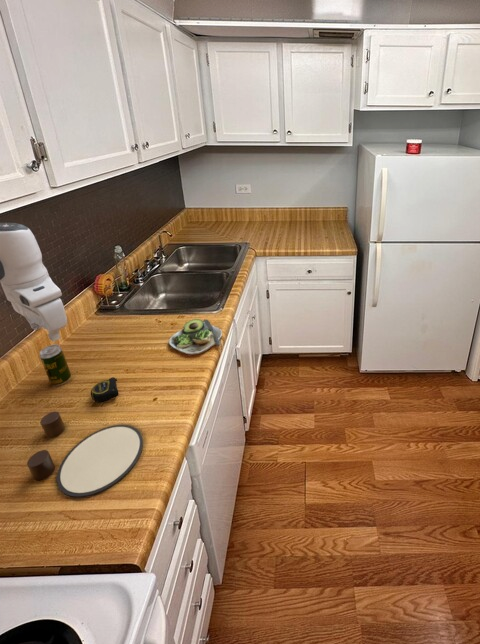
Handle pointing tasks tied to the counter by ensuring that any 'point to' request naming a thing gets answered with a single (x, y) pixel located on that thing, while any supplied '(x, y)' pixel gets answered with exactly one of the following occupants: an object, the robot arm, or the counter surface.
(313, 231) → the counter surface
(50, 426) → the eye puck
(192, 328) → the avocado toast plate
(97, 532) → the counter surface
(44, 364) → the green guarana soda can
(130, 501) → the counter surface
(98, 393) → the tape measure
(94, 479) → the board
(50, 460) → the eye puck
